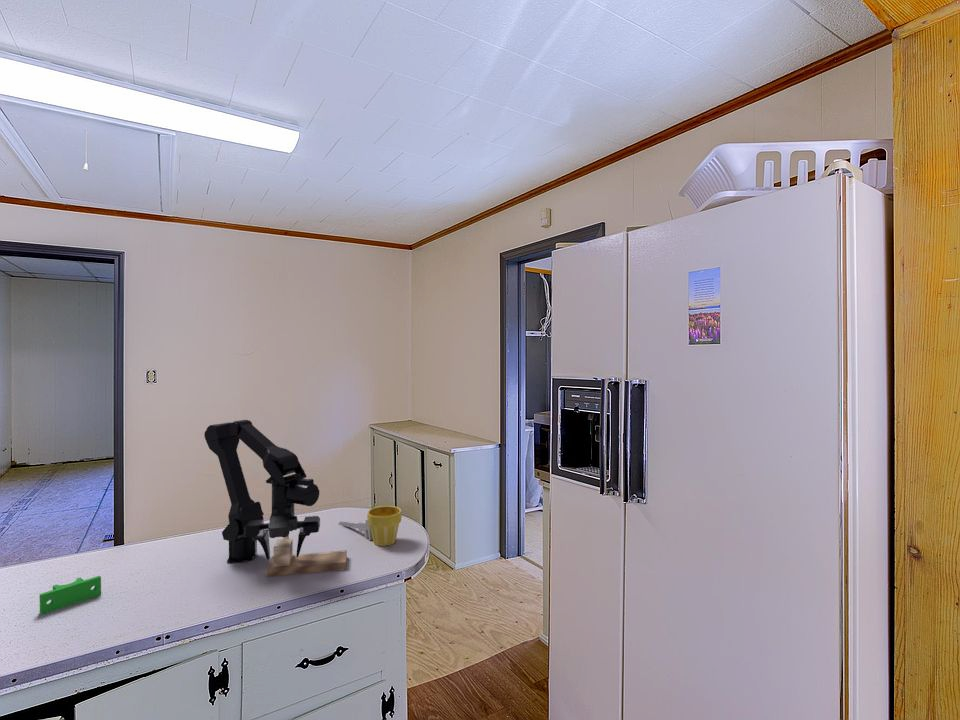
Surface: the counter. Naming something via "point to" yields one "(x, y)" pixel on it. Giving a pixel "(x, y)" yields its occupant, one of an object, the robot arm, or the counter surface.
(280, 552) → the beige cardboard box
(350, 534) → the counter surface
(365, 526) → the caliper
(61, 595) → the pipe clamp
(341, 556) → the walnut board
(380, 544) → the plant pot
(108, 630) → the counter surface
